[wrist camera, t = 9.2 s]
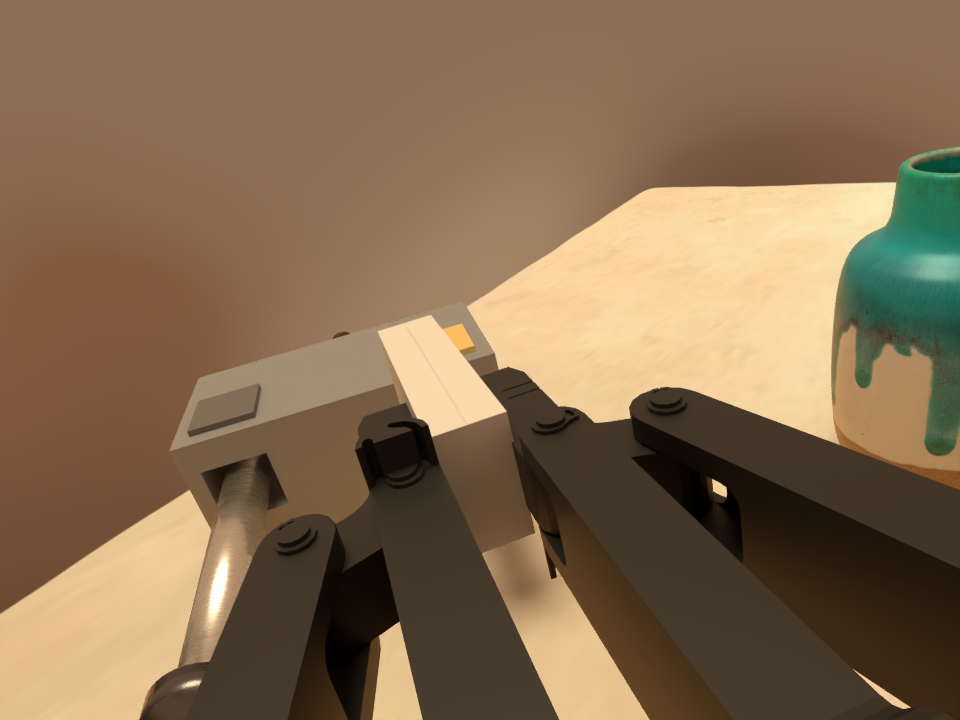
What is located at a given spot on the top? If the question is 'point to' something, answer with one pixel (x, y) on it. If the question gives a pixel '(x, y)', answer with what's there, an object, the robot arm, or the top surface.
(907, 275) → the vase
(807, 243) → the top surface
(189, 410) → the console
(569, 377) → the top surface
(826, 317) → the top surface
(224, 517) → the plunger grey
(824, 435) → the top surface
